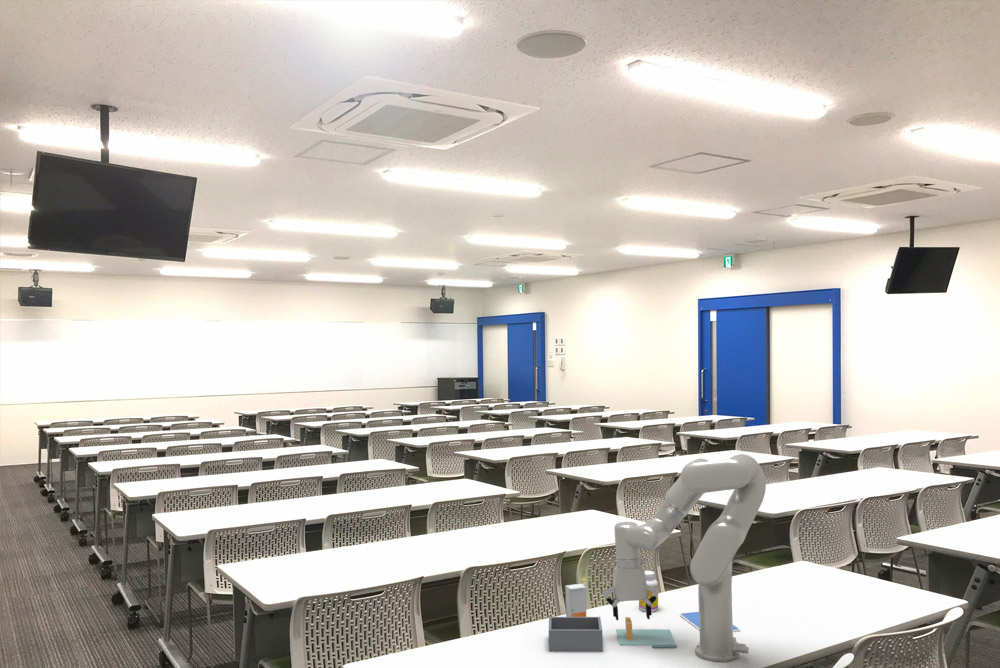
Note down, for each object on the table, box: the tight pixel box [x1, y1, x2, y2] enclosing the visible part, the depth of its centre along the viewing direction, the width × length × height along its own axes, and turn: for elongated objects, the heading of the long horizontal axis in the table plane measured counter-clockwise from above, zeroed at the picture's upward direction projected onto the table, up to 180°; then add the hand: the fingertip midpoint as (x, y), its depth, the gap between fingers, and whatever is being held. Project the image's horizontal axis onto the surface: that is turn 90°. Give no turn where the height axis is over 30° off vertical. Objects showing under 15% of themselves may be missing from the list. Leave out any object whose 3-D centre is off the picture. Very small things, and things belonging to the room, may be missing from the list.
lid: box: [615, 616, 677, 648], centre depth 236 cm, size 17×13×6 cm
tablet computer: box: [679, 611, 741, 633], centre depth 250 cm, size 19×13×1 cm, turn 12°
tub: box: [548, 616, 604, 653], centre depth 233 cm, size 16×12×7 cm
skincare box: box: [564, 583, 587, 617], centre depth 254 cm, size 6×4×12 cm
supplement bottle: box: [638, 570, 659, 613], centre depth 265 cm, size 7×7×13 cm
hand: (632, 618), depth 236 cm, fingers open, 9 cm apart
